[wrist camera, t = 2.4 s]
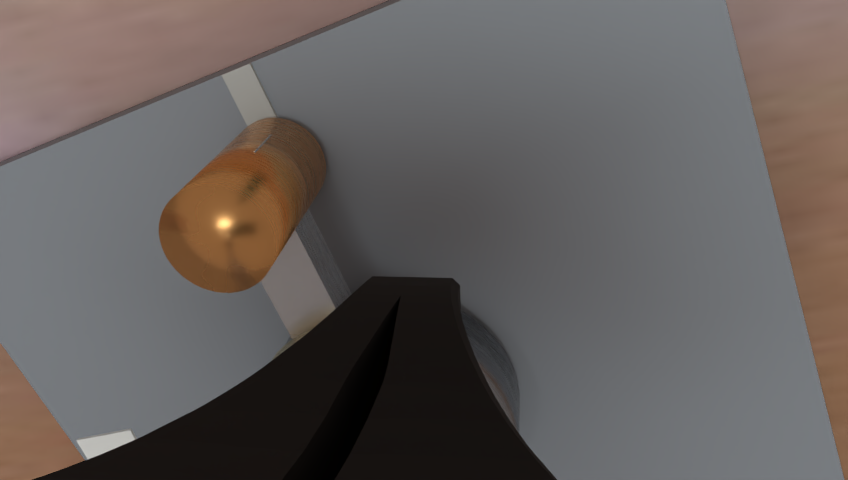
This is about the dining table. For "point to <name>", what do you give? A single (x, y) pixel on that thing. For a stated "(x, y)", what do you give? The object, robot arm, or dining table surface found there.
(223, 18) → the dining table surface
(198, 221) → the crank
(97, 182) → the stand
